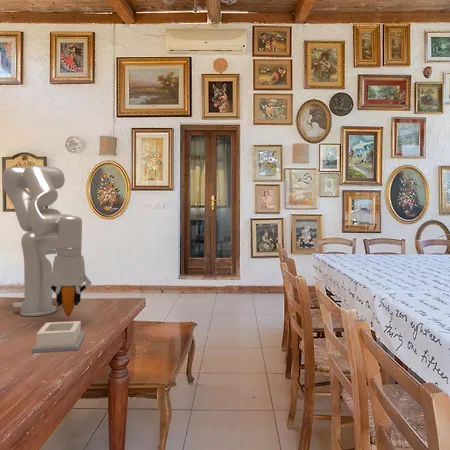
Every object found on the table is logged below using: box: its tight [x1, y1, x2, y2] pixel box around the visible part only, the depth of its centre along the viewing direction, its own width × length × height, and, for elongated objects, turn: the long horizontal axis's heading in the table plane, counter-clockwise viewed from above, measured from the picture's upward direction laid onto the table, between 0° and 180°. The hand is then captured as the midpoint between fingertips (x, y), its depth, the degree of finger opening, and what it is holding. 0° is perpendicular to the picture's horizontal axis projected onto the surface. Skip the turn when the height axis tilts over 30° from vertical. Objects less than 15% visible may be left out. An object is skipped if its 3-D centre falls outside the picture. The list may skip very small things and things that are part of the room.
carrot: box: [61, 286, 76, 318], centre depth 123 cm, size 5×5×15 cm
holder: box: [31, 320, 85, 354], centre depth 107 cm, size 12×12×5 cm
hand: (68, 303), depth 124 cm, fingers closed on carrot, 4 cm apart
